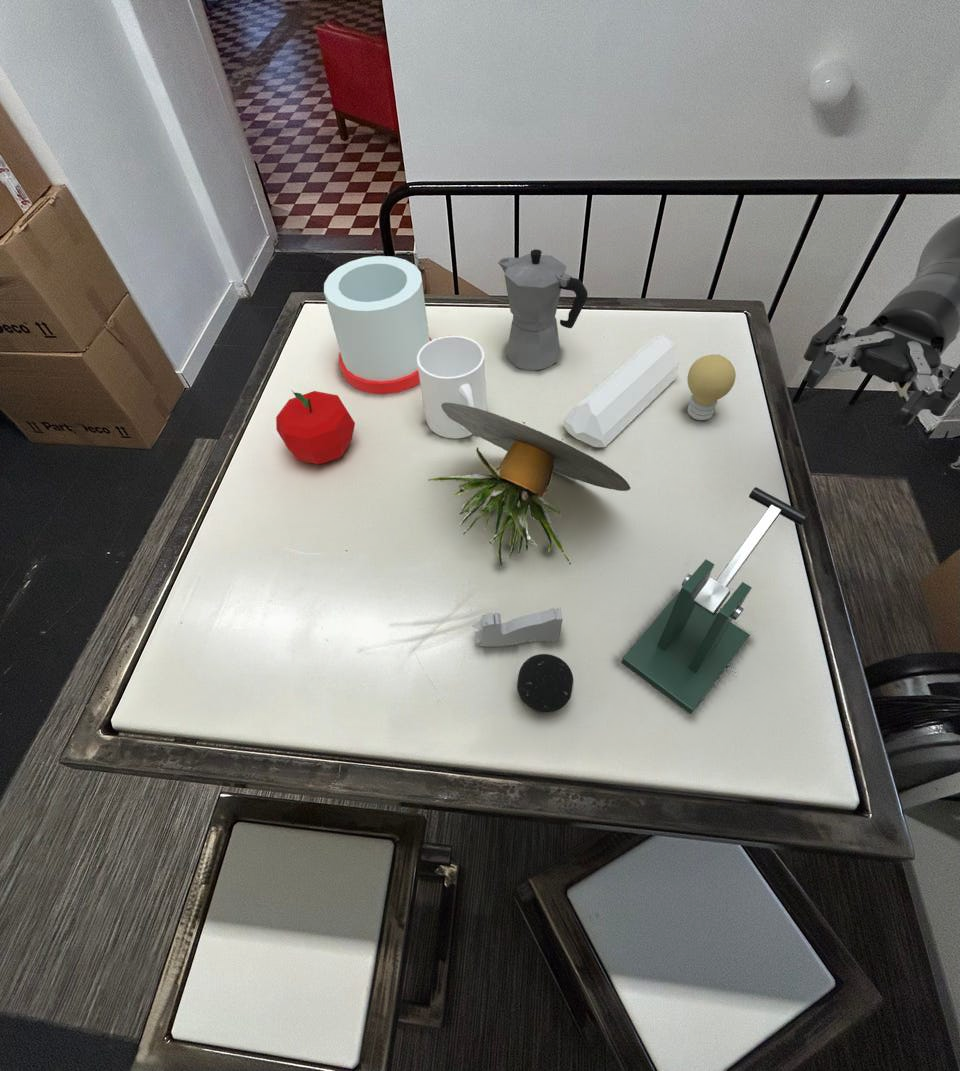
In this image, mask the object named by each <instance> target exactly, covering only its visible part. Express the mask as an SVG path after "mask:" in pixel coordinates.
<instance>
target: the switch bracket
mask: <svg viewBox="0 0 960 1071" xmlns="http://www.w3.org/2000/svg"><path fill="white" fill-rule="evenodd" d="M714 567H715V563H713V562H711V561H710V560H709V559H706V558H705V559H704V560H703V562H702V563H701V564H700V565H699V566H698V567H697V569H696V570H694V572H693V573H692V574H690V573H689V574H687V575H686V577H684V579H683V581H682V582H681V588H680V590H679V591H678V593H677V594H676V595H675V596H674V597H673V598H672V600H671V601H669V603H668V605H666V607H665V608H664V609H663V610H662V611H661V612H660V613H659V615H658V616H657V617H656V618H655V619H654V620H653V622H652V623H651V624H650V626H648V628H646V630H645V631H644V632H643V633H642V635H641V636H640V637H639V638H638V639H637V640H636V641H635V643H634V644H633V645H632V646H631V647H630V649H629V650H628V651H627V652H626V654H624V655H623V657H622V659H621V664H623V665H624V666H625V667H626V668H628V669H629V670H631V671H632V672H633V673H635V674H636V675H637V676H639V677H640V678H641V679H642V680H644V681H646V682H647V683H648V684H649V685H651V687H653V688H655V689H656V690H657V691H659V692H660V693H661V694H663V695H664V696H665V697H667V698H668V699H669V700H671V701H672V702H673V703H674V704H676V705H678V706H679V707H680V708H681V709H683V710H684V711H685V712H687V714H690V715H692V713H694V711H695V710H696V708H697V707H698V705H699V704H700V703H701V701H702V700H704V698H705V696H707V693H709V691H710V689H711V688H712V687H713V686H714V685H715V683H716V682H717V680H718V679H719V678H720V677H721V675H722V673H723V672H724V671H725V669H726V668H727V667H728V666H729V664H730V663H731V662H732V660H733V659H734V657H735V656H736V655H737V654H738V652H739V651H740V650H741V648H742V647H743V645H745V643H746V641H747V640H748V638H749V637H750V633H748V632H747V631H745V630H744V629H742V628H741V627H740V626H737V625H736V624H735V623H733V620H734V621H737V620H738V618H739V617H740V616H741V615H742V613H743V611H744V608H743V607H742V606H743V604H744V602H745V600H746V599H747V597H748V595H749V594H750V592H751V590H752V588H753V587H752V586H750V585H749V584H747V583H746V582H744V581H741V583H740V584H739V586H738V587H737V588H736V589H735V591H734V592H733V593H732V594H731V596H730V597H729V598H727V600H726V602H724V603H723V605H722V606H721V607H720V608H719V610H718V611H717V612H716V614H715V615H714V616H712V615H711V614H709V613H708V612H706V611H705V610H703V609H702V608H700V607H699V606H697V605H696V604H695V603H694V598H695V597H696V596H697V594H698V593H699V592H700V590H701V589H702V587H703V586H704V585H705V583H706V582H707V581H708V579H709V578H710V575H711V574H712V572H713V569H714Z"/></svg>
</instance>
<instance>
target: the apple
mask: <svg viewBox="0 0 960 1071" xmlns="http://www.w3.org/2000/svg"><path fill="white" fill-rule="evenodd" d="M291 392H292V394H293V396H294V397H292V398H289V399H288V400H287V402H286V403H285V404H284V405H283V407H282V409H281V410H280V412H279V413H278V414H277V415H276V416H275V421H276V422H275V425H276V427H275V428H276V429H275V430H276V432H277V433H278V435H279V437H280V439H281V441H283V443H284V445H285V446H286V448H287V449H288V451H290V453H291V454H292V456H294V458H295V459H296V460H297V461H301V462H305V463H306V462H307V463H310V464H316V465H322V464H324V463H328V462H331V461H334V460H337V459H339V458H341V457H342V456H343V455H344V453H345V451H346V450H347V448H348V447H349V445H350V443H351V442H352V440H353V436H354V431H355V427H356V426H355V425H356V423H355V421H354V419H353V418H352V416H351V414H350V413H349V411H348V409H347V408H346V406H345V404H344V403H343V402H342V400H341V398H340V396H339V395H338V394H333V393H328V392H322V391H317V390H313V391H309V392H307V393H304V394H302V393H300V392H294V391H293V390H291Z"/></svg>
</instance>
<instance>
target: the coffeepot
mask: <svg viewBox="0 0 960 1071" xmlns="http://www.w3.org/2000/svg"><path fill="white" fill-rule="evenodd" d="M542 253H543V251H542V250H540V249H536V248H534V249H532V250H530V253H527V254H525V255H523V256H520V257H507V258H506V257H504V258H502V259H500V260H499V261H498V262H497V264H498V265H499V266H500V267H501V269H502V271H503V273H504V282H505V287H506V293H507V300H508V305H509V311H510V313H511V314H512V321H511V325H510V332H509V335H508V336H509V338H508V342H507V349H506V354H505V358H507V360H508V361H509V362H510V363H511V365H512V366H514V367H516V368H518V369H520V370H523V371H524V370H525V371H531V372H532V371H533V372H534V371H541V370H546V369H549V368H550V367H552V366H553V365H554V364H555V363H557V362H558V359H559V355H560V350H561V346H560V338H559V330H558V328H559V327H558V322H557V318H556V315H557V311H558V306H559V300H560V296H561V292H562V290H564V291H571V292H574V295H575V297H574V299H573V302H572V306H571V308H570V310H569V311H568V314H567V315H568V317H567V320H564V319H560V320H559V325H560V326H561V327H563V328H566V329H572V328H574V325H575V324H576V322H577V320H578V318H579V316H580V314H581V312H582V310H583V308H584V306H585V304H586V303H587V299H588V294H589V293H588V290H587V288H586V287H585V285H584V283H583V282H582V280H580V279H579V278H575V277H572V275H570V274H567V273H566V270H567V265H566V264H564V263H563V262H562V261H560V260H558V259H557V258H556V257H555V256H553V255H546V254H542Z"/></svg>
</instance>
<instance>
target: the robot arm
mask: <svg viewBox="0 0 960 1071" xmlns="http://www.w3.org/2000/svg"><path fill="white" fill-rule="evenodd" d="M917 264H918V265H917V267H916V268H917V269H916V272H915V277H914V278H913V279H912V280H911V282H910V283H909V284H908V285H906V286H905V287H904V288H902V289H901V290H900V291H899V292H898V293H896V295H895V296H894V297H893V298H892V299H891V300H890V302H889V303H887V305H885V307H884V308H883V309H882V310H881V311H880V312H879V313H878V315H876V317H875V318H874V319H873V320H872V321H871V322H870V324H868V325H867V326H865V327H862V328H859V329H858V330H857V329H855V328H853V327H851V326H848V325H846V324H847V321H848V318H847V316H845V315H842V314H840V315H836V316H835V317H833V318H832V319H831V320H830V321H829V322H827V323H826V324H825V325H824V326H823V327H822V328H820V329H819V330H818V331H817V332H816V333H815V334H814V335H813V336H812V337H811V339H810V341H809V343H808V346H807V348H806V350H805V352H804V354H803V359H804V360H805V361H807V362H812V363H811V364H810V366H809V367H808V369H807V371H806V373H805V376H804V379H803V380H804V382H807V383H806V385H805V387H806V388H808V389H809V390H814V389H815V388H816V387H817V385H818V384H819V383H820V382H821V381H822V380H823V379H824V378H825V377H826V376H827V374H828V373H829V372H830V371H835V370H839V371H840V372H841V373H846V372H852V371H853V372H854V371H859V370H860V372H863V373H865V374H867V375H871V376H875V377H877V378H879V379H881V380H882V381H884V382H886V383H889V384H892V383H893V384H894V386H895V388H896V391H897V392H898V396H899V397H900V398H904V399H905V401H906V402H905V403H904V405H903V406H902V407H901V408H900V410H899V411H898V413H897V414H896V416H895V417H894V419H893V420H892V421H891V423H890V426H892V427H894V428H896V429H898V428H899V427H900V426H901V425H903V426H906V427H907V426H909V425H911V424H912V423H913V422H914V420H915V419H916V417H917V416H918V415H919V413H920V412H922V411H923V410H927V411H928V410H929V412H930V413H931V415H933V416H935V417H942V416H944V415H945V413H946V412H947V410H948V409H949V407H950V406H951V404H952V403H953V402H954V401H955V400H956V399H957V397H958V396H959V394H960V363H959V364H958V365H957V367H953V366H951V365H948V364H945V363H942V358H941V357H942V355H943V354H944V353H945V351H946V350H947V348H948V347H949V346H950V345H951V344H952V343H953V342H954V341H955V340H956V339H957V337H958V334H959V333H960V214H959V215H957V216H955V217H952V219H951V218H950V220H948V221H946V223H944V224H943V225H942V226H941V227H940V228H938V229H937V230H936V232H934V233H933V235H932V236H931V237H930V238H929V240H928V241H927V243H926V244H925V246H924V248H923V250H922V251H921V255H920V257H919V261H918V263H917ZM932 376H934V377H936V378H937V383H938V386H937V389H938V390H937V389H936V387H935V385H934V382H933V380H932V379H931V377H932Z"/></svg>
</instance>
